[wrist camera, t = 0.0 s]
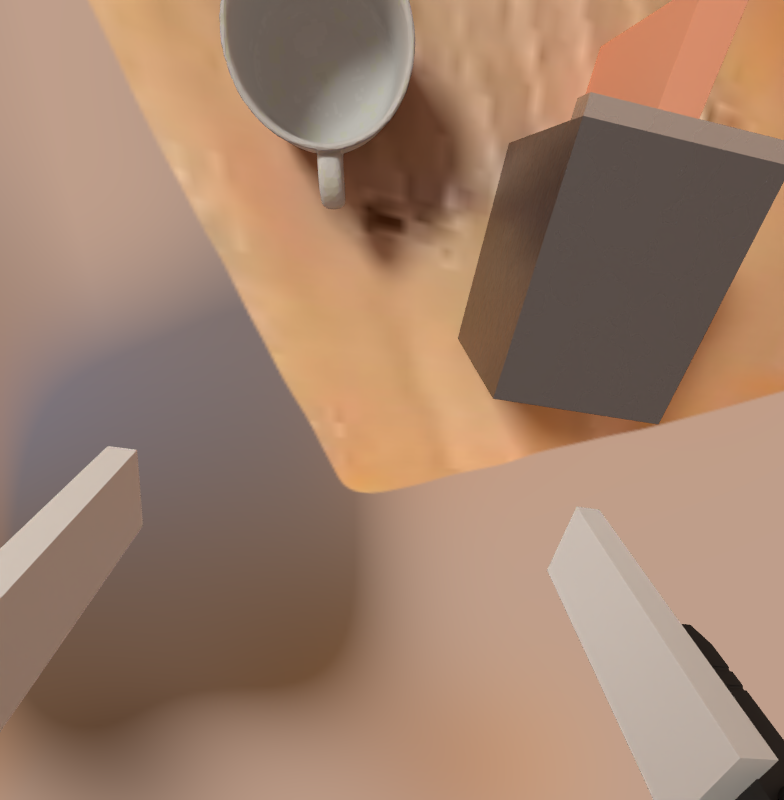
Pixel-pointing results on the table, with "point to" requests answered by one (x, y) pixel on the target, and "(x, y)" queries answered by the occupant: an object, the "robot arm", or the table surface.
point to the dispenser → (613, 255)
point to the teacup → (320, 72)
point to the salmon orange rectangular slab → (669, 56)
